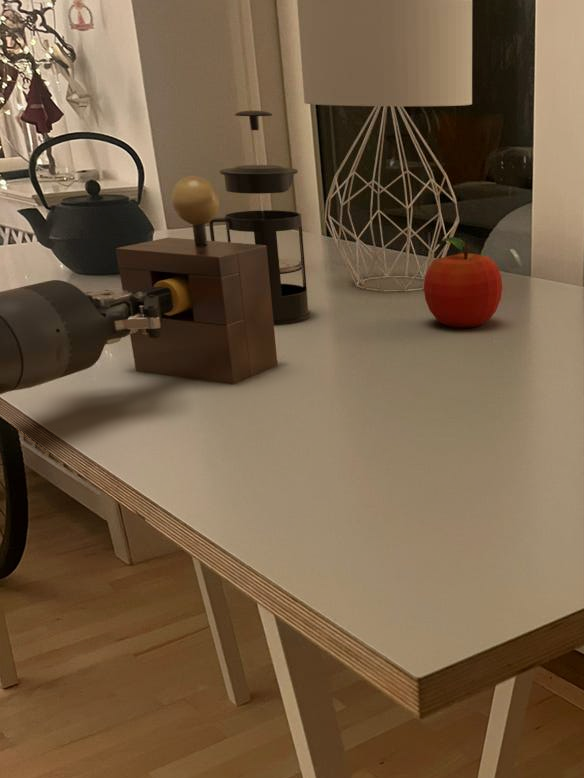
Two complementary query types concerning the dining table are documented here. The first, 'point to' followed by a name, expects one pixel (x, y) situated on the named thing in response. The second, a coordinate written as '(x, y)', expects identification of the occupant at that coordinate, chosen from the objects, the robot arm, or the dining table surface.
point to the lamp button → (178, 293)
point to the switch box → (204, 298)
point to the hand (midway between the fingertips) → (165, 298)
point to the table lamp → (387, 85)
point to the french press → (268, 228)
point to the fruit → (462, 287)
